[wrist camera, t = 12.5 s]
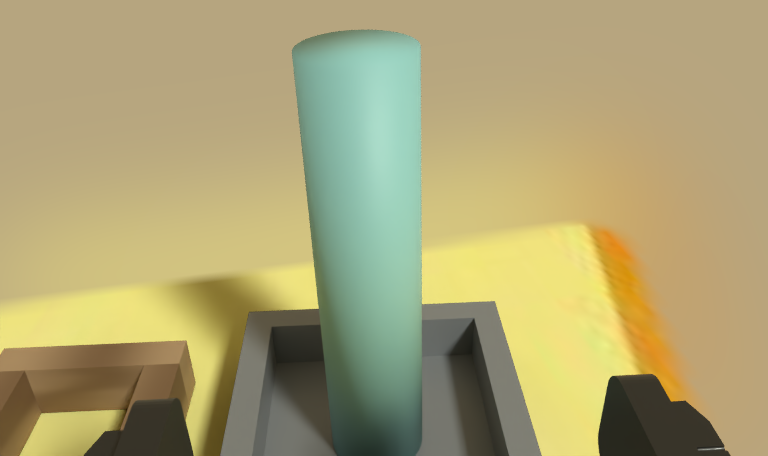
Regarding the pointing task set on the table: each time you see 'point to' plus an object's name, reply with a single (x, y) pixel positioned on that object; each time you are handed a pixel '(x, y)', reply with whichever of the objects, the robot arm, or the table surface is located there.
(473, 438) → the tray
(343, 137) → the dowel
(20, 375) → the collar block
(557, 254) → the table surface
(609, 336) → the table surface
